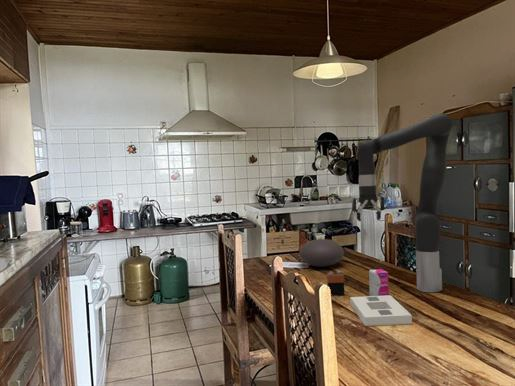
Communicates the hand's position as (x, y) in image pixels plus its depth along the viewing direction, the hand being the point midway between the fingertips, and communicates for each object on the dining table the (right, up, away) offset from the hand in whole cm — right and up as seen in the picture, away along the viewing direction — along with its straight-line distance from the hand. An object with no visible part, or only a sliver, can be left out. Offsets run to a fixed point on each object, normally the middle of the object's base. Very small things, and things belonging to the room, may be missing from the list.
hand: (368, 220), depth 180 cm
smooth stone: (-14, -29, +44) cm, 54 cm away
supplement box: (0, -31, -16) cm, 35 cm away
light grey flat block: (-6, -32, -33) cm, 47 cm away
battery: (-16, -32, -8) cm, 37 cm away
